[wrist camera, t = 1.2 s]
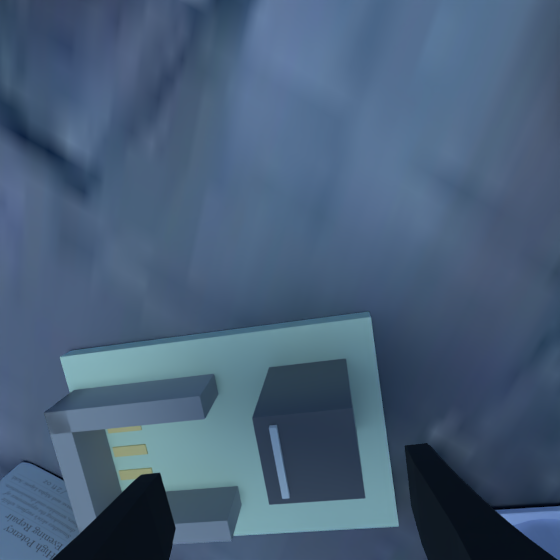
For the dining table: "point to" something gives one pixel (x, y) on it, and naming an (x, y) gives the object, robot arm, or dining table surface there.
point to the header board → (212, 427)
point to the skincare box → (34, 515)
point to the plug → (308, 434)
